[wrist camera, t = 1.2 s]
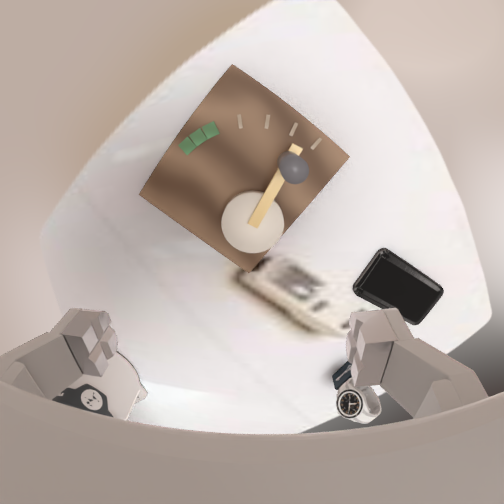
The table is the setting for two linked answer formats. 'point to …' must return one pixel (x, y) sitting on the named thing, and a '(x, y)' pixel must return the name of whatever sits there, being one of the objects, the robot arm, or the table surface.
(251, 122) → the gauge panel
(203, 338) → the table surface
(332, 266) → the table surface
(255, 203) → the dial knob with pointer
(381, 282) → the phone
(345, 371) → the watch
